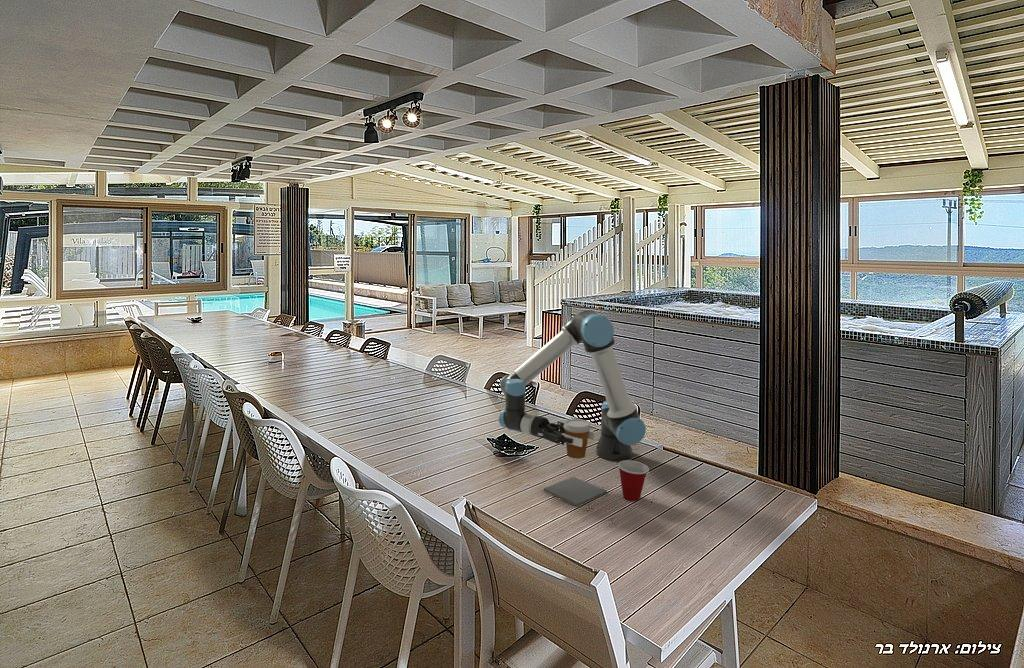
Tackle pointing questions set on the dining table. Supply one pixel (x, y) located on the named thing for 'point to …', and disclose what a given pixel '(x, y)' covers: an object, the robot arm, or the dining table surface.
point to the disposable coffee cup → (580, 431)
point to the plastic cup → (632, 478)
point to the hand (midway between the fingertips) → (588, 439)
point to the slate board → (575, 491)
